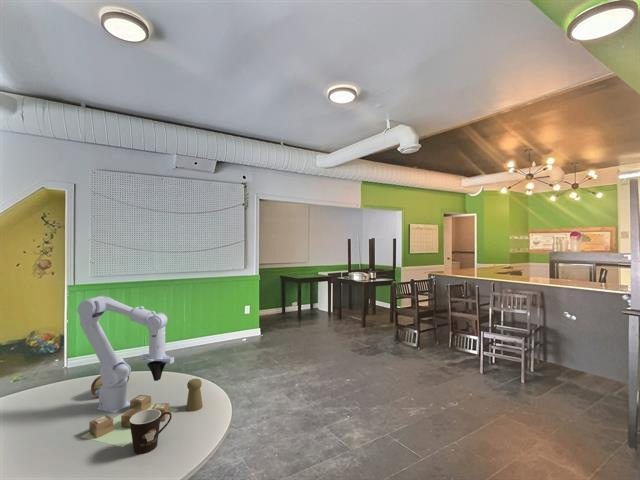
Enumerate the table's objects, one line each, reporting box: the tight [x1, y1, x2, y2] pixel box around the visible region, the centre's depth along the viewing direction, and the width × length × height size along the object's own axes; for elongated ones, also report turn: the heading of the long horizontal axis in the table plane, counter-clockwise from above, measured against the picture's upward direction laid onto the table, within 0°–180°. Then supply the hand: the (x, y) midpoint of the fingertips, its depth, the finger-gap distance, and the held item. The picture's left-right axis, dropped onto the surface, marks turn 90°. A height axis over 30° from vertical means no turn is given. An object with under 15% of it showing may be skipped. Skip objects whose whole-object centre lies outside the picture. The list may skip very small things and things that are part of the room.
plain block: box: [121, 408, 144, 428], centre depth 114 cm, size 5×5×4 cm
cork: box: [185, 378, 204, 413], centre depth 125 cm, size 6×6×11 cm
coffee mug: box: [130, 409, 173, 455], centre depth 101 cm, size 12×9×10 cm
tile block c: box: [129, 394, 152, 410], centre depth 124 cm, size 5×5×4 cm
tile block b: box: [152, 402, 170, 422], centre depth 118 cm, size 5×5×4 cm
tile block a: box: [88, 414, 113, 438], centre depth 109 cm, size 5×5×4 cm
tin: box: [90, 375, 130, 398], centre depth 139 cm, size 15×3×8 cm, turn 155°
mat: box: [80, 403, 179, 448], centre depth 115 cm, size 18×24×1 cm
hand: (157, 379), depth 127 cm, fingers closed
